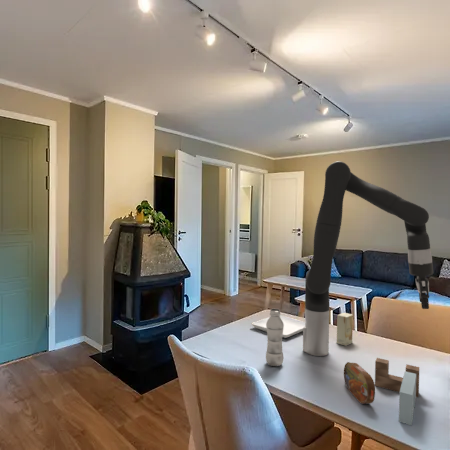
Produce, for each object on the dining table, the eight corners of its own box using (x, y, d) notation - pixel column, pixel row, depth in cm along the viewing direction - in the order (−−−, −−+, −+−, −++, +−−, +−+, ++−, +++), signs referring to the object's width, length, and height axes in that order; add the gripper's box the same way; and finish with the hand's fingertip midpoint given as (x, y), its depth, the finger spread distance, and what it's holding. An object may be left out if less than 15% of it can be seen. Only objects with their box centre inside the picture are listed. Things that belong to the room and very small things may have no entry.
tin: (342, 383, 108) (343, 357, 107) (351, 382, 108) (352, 357, 108) (366, 410, 93) (366, 380, 92) (376, 409, 93) (377, 380, 93)
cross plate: (411, 425, 86) (412, 395, 86) (398, 421, 88) (399, 391, 87) (415, 400, 98) (416, 373, 97) (404, 397, 99) (404, 371, 99)
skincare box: (345, 346, 138) (346, 317, 137) (336, 343, 141) (336, 315, 141) (352, 342, 142) (353, 314, 142) (343, 339, 145) (343, 312, 145)
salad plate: (286, 342, 143) (286, 334, 143) (250, 329, 158) (250, 322, 158) (313, 331, 157) (313, 323, 157) (278, 320, 173) (278, 313, 172)
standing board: (374, 385, 106) (375, 361, 106) (376, 381, 108) (377, 357, 108) (418, 397, 99) (418, 371, 99) (418, 392, 102) (419, 367, 102)
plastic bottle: (284, 362, 123) (285, 308, 122) (281, 370, 116) (282, 313, 116) (267, 359, 125) (268, 306, 124) (263, 367, 118) (264, 311, 118)
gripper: (407, 258, 129) (411, 299, 129) (409, 264, 116) (413, 310, 116) (430, 257, 125) (434, 300, 126) (434, 264, 113) (439, 311, 113)
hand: (424, 305), depth 121 cm, fingers open, 8 cm apart
